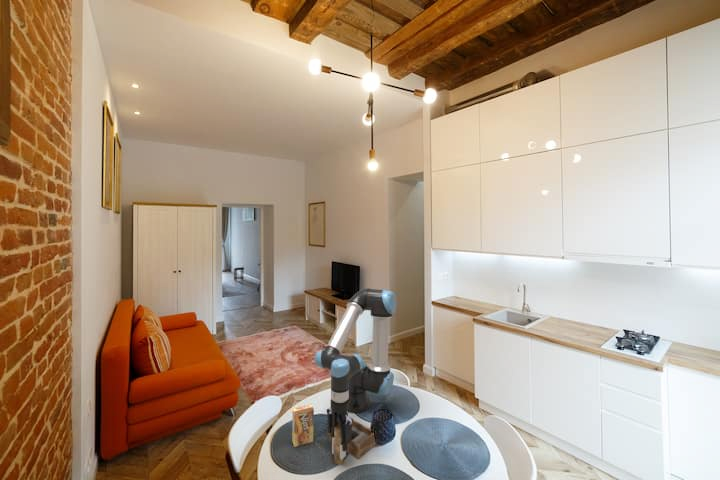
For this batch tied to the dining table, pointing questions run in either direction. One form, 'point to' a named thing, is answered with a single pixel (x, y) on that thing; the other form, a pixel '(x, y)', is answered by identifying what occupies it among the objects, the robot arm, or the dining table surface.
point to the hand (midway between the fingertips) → (338, 454)
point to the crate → (359, 440)
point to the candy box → (302, 425)
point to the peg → (337, 445)
